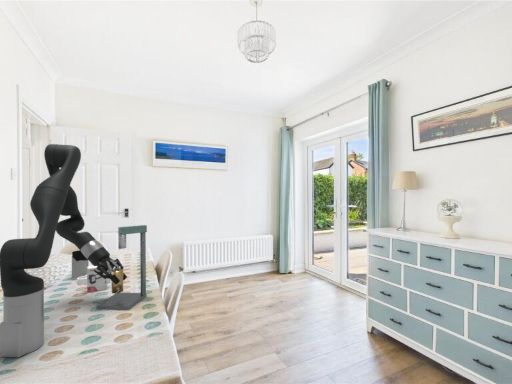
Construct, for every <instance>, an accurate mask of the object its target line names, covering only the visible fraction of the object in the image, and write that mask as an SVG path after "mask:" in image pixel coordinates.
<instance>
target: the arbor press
mask: <svg viewBox="0 0 512 384" xmlns="http://www.w3.org/2000/svg"><path fill="white" fill-rule="evenodd" d="M147 227H148V226H147V225H146V224H141V225H129V226H118V228H117V229H118V231H117V232H118V233H117V234H118V235H117V236H118V249H119V250H122V249H127V235H133V234H139V235H140V237H139V239H140V240H139V241H140V245H139V247H140V248H139V249H140V250H139V251H140V252H139V253H140V259H139V260H140V262H139V263H140V292H120V293H113V295H112V296H109V297H108V298H106V299H105V300H103V301H102V302H100V303H97V304H96V305H95V309H96V310H106V311H107V310H112V311H113V310H117V311H130V310H131V309H133V308H134V307H135V306H136V305H137V304H139V303H140V302H141V301H143V300H144V299H145V298H147V282H146V281H147V262H146V261H147V258H146V257H147V256H146V254H147V253H146V251H147V250H146V249H147V248H146V247H147V246H146V243H147V242H146V238H147V237H146V233H147V232H148V230H147V229H148V228H147Z"/></svg>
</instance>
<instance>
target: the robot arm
mask: <svg viewBox="0 0 512 384" xmlns="http://www.w3.org/2000/svg"><path fill="white" fill-rule="evenodd" d="M43 154H44V156H43V157H44V162H45V165H46V169H47V171H48V174H49V177H47V178H45V179H43V181H41V182H40V183H39V184H38V185H37V186H36V188H35V189H34V191H33V194H32V197H31V200H30V203H29V205H30V209H31V212H32V214H33V216H34V217H35V218H36V220H37V223H38V231H37V234H36V235H35V237H32V238H31V237H29V238H14V239H8V240H7V241H5V242H4V243H3V244H2V246H1V248H0V285H1V286H0V287H1V289H2V292H3V293H2V294H3V296H2V299H3V300H2V302H3V303H2V309H3V311H2V312H3V313H2V314H3V315H2V316H3V317H2V319H3V320H2V322H0V357H1V358H21V357H22V356H24V355H27V354H30V353H32V352H34V351H36V350H38V349H40V348H41V347H42V346H43V345H44V344H45V281H44V278H42V277H39V276H35V275H32V274H30V273H28V272H26V270H30V269H31V270H33V269H40V268H42V267H43V268H44V266H45V265H46V264H47V262H48V261H49V259H50V257H51V253H52V249H53V244H54V240H55V234H56V233H57V235H59V237H61V238H63V239H65V240H66V241H68V242H69V243H71V244H73V245H75V247H76V248H77V249H78V251H79V250H80V251H81V252H82V253H83V255H84V256H85V257H86V258H87V259H88V262H89V263H90V264H91V266H97V268H96V269H95V270H94V272H95V273H97V274H98V275H100V276H101V277H102V278H104V279H106V278H108V279H111V281H110V282H111V283H112V282H113V283H115V284H118V283H119V282H120V280H119V279H118V278H117V277H116V276H115V275H114V273H113V272H112V271H113V270H116V268H117V267H119V269H123V270H124V269H125V268H124V266H123V264H122V263H121V261H120V260H119V258H115V259H113V258H112V257H110V256H111V253H110V252H109V251H108V250H107V249H106V248H105V247H104V245H102V243H100V241H98V240H97V239H96V238H95V237H94V236H93V235H92V234H91V233H90V232H89V231H82V230H83V229H84V228H85V225H86V224H85V220H84V219H83V216H82V214H81V211H80V209H79V203H78V195H77V193H76V192H75V189H73V187H72V186H71V184H72V182H73V181H72V180H73V178H74V176H75V174H76V173H77V170H78V168H79V166H80V163H81V160H82V159H81V158H82V153H81V150H80V148H79V147H78V146H76V145H72V144H58V143H57V144H56V143H49V144H47V145H46V146H45V149H44V153H43ZM61 216H62V217H67V216H69V217H68V218H65V219H63V220H61V221H59V220H60V217H61ZM100 271H101V272H100ZM103 273H104V275H103ZM127 278H128V276H127V275H126V274H125V273H124V272H123V282H124V281H126V279H127Z"/></svg>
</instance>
